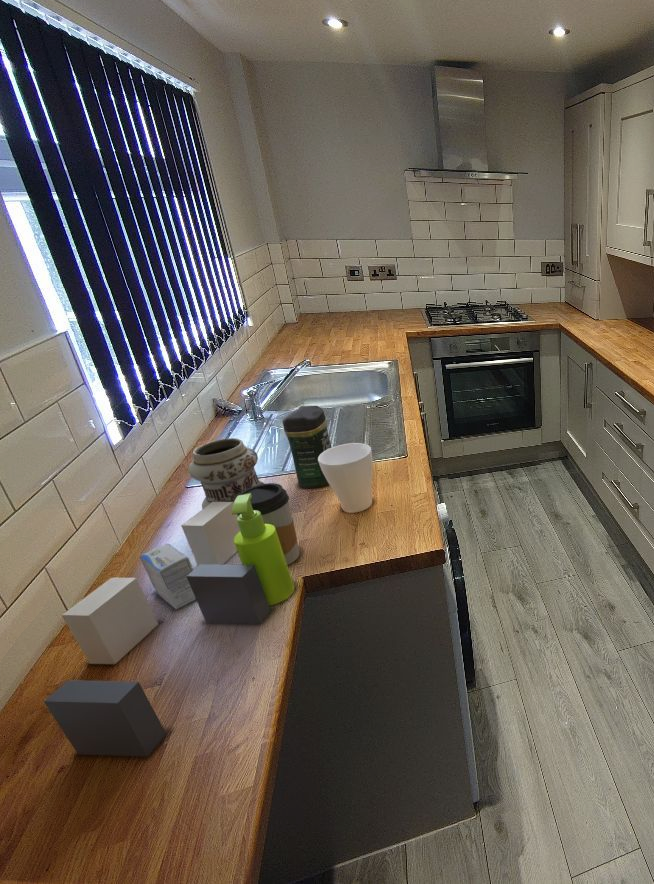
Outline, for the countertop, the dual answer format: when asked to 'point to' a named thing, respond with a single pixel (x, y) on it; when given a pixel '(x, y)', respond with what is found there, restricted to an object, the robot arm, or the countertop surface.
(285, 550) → the coffee cup
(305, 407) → the coffee jar
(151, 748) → the grey block near
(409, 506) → the countertop surface
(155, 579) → the medicine box
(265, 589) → the soap dispenser
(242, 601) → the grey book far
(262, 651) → the countertop surface
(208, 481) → the apothecary jar
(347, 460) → the cup
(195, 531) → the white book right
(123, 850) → the countertop surface
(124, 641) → the white rectangular block
